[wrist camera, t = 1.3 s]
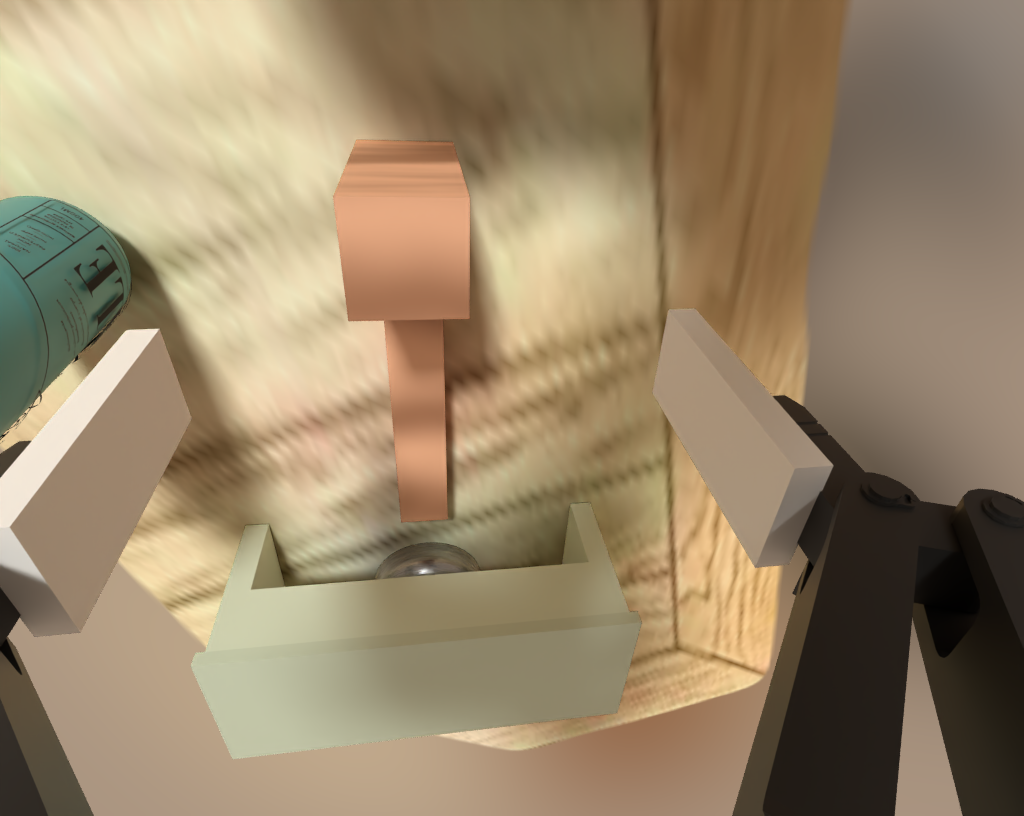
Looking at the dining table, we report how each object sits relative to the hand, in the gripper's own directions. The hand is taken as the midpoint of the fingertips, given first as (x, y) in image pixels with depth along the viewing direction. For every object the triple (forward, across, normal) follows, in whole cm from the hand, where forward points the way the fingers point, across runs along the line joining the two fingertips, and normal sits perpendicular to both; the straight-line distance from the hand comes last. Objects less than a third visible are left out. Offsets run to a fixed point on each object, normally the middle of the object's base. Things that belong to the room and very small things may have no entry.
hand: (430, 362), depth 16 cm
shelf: (+16, -1, -27) cm, 31 cm away
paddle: (+16, -1, -9) cm, 19 cm away
